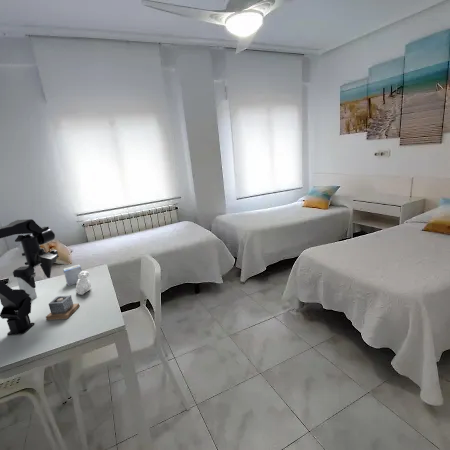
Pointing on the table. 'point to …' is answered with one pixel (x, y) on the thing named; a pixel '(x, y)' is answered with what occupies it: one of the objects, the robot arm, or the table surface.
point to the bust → (83, 283)
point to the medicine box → (72, 274)
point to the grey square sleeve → (61, 305)
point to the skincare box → (26, 288)
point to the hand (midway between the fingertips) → (41, 282)
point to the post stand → (62, 316)
